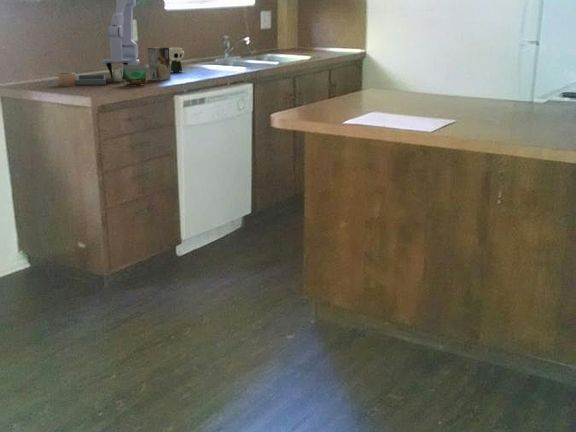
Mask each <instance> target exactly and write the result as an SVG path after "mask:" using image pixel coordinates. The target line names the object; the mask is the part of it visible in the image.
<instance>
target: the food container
mask: <svg viewBox="0 0 576 432" xmlns="http://www.w3.org/2000/svg"><path fill="white" fill-rule="evenodd" d="M121 69H124V74H125V78H124V79H125V85H126V84H127V85H126V86H128V85H141V84H145V85H146V83H147V82H146V81H147V69H149V66H148V64H147V63H144V64H140V65H124V64H123V67H122V66H121Z"/></svg>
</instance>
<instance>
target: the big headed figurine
mask: <svg viewBox="0 0 576 432" xmlns="http://www.w3.org/2000/svg"><path fill="white" fill-rule="evenodd" d="M168 48H169V60H170V61H171V62H170V72H173V73H180V72H183V66H182V62H181V61H182V60H183V58H185V51H184V50H183V48H182V47H168Z"/></svg>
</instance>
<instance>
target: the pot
mask: <svg viewBox="0 0 576 432" xmlns="http://www.w3.org/2000/svg"><path fill="white" fill-rule="evenodd" d="M57 77H58V87H76V86H77V85H76V78H77V76H76V71H60V72H57Z"/></svg>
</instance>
